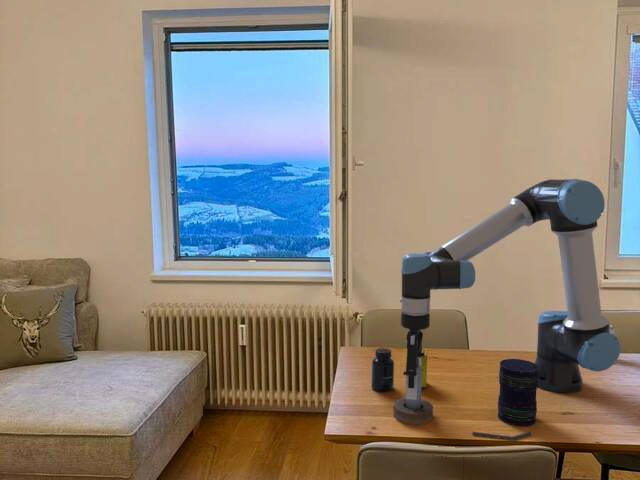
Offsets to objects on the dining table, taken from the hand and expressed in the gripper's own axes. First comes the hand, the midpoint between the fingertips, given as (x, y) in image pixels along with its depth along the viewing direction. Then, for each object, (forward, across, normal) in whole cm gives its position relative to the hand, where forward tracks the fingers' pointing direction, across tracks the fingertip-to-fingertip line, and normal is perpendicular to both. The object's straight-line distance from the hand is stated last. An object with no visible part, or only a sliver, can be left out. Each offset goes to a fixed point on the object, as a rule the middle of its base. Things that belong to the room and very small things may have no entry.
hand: (413, 388), depth 143 cm
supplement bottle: (+8, -17, -11) cm, 22 cm away
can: (+8, -64, +61) cm, 89 cm away
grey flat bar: (+8, +5, +23) cm, 24 cm away
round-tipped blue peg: (+8, 0, 0) cm, 8 cm away
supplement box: (+8, -22, -1) cm, 23 cm away
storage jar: (+8, -6, +27) cm, 29 cm away
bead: (+8, 0, 0) cm, 8 cm away
